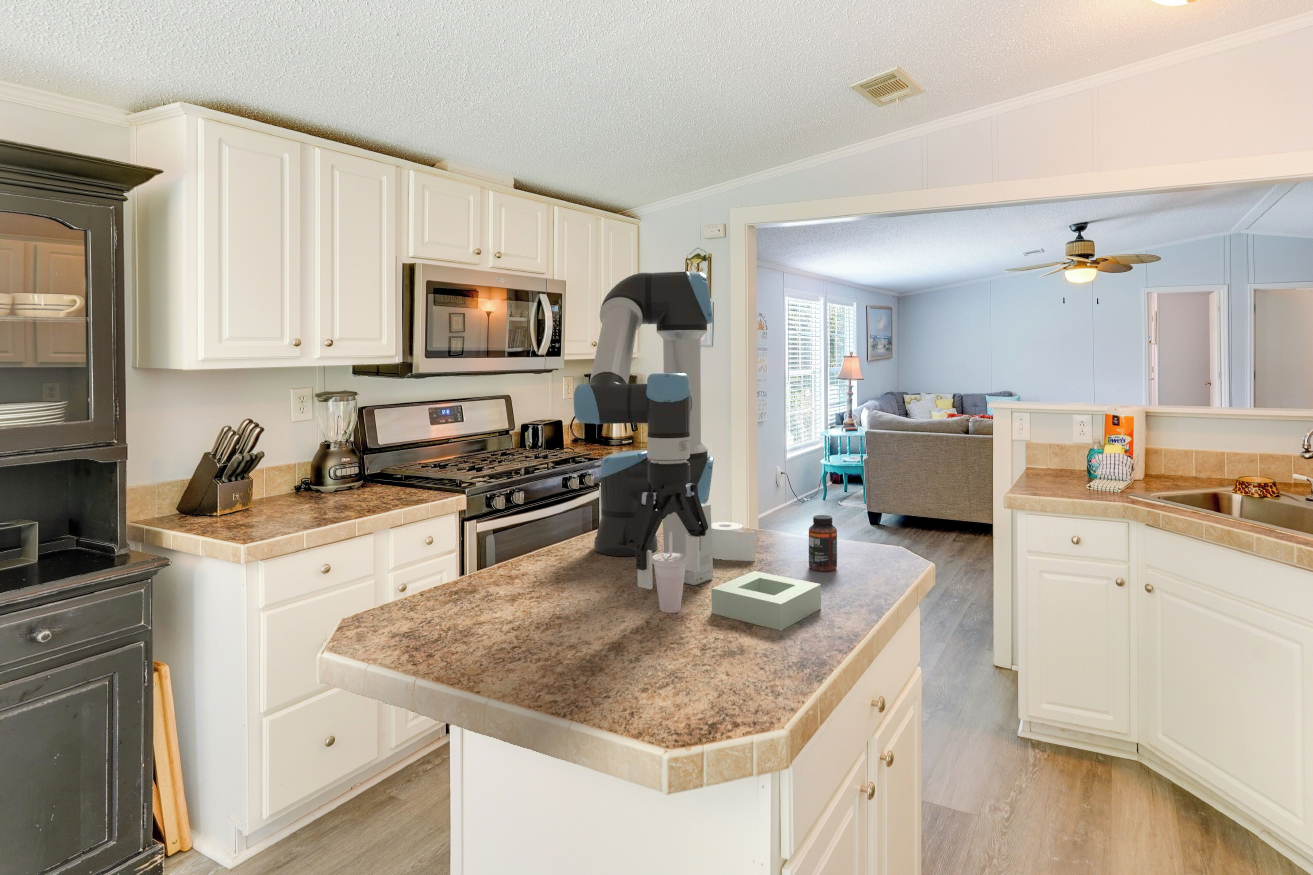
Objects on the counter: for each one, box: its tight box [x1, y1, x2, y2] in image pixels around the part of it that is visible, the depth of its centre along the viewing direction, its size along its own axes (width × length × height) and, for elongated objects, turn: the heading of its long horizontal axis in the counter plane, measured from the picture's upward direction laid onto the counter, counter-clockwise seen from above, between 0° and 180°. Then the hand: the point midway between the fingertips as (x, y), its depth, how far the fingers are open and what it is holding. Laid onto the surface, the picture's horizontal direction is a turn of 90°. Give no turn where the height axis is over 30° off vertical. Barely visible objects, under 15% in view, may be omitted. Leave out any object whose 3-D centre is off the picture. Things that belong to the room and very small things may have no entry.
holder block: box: [711, 570, 822, 632], centre depth 132 cm, size 14×14×4 cm
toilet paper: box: [711, 521, 757, 562], centre depth 171 cm, size 8×11×7 cm
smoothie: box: [652, 532, 688, 614], centre depth 133 cm, size 6×6×14 cm
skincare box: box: [662, 503, 714, 586], centre depth 152 cm, size 8×7×16 cm
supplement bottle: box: [808, 514, 838, 572], centre depth 159 cm, size 6×6×11 cm
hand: (669, 578), depth 133 cm, fingers open, 13 cm apart
